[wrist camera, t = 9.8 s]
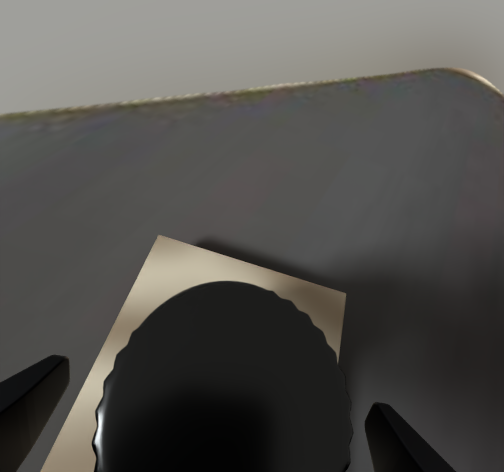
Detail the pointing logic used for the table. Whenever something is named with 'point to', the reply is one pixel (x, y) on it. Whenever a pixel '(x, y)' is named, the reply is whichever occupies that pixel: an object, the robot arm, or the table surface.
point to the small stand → (153, 295)
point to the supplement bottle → (224, 389)
